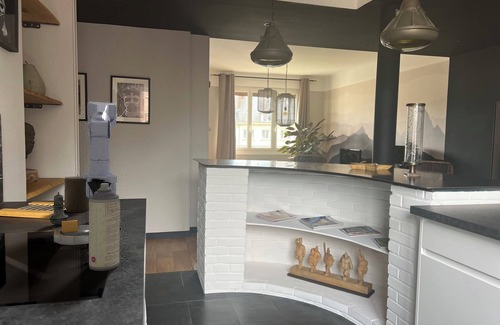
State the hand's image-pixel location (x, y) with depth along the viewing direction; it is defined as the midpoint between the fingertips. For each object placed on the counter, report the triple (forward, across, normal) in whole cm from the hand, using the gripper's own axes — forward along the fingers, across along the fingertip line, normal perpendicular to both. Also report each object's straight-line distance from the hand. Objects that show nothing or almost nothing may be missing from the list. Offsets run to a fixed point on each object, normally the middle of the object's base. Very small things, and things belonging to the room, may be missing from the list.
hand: (99, 203), depth 110 cm
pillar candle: (+10, -41, +17) cm, 46 cm away
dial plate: (+10, 0, -6) cm, 12 cm away
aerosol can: (+10, +23, -14) cm, 29 cm away
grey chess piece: (+10, -20, -2) cm, 23 cm away
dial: (+9, 0, -6) cm, 11 cm away
